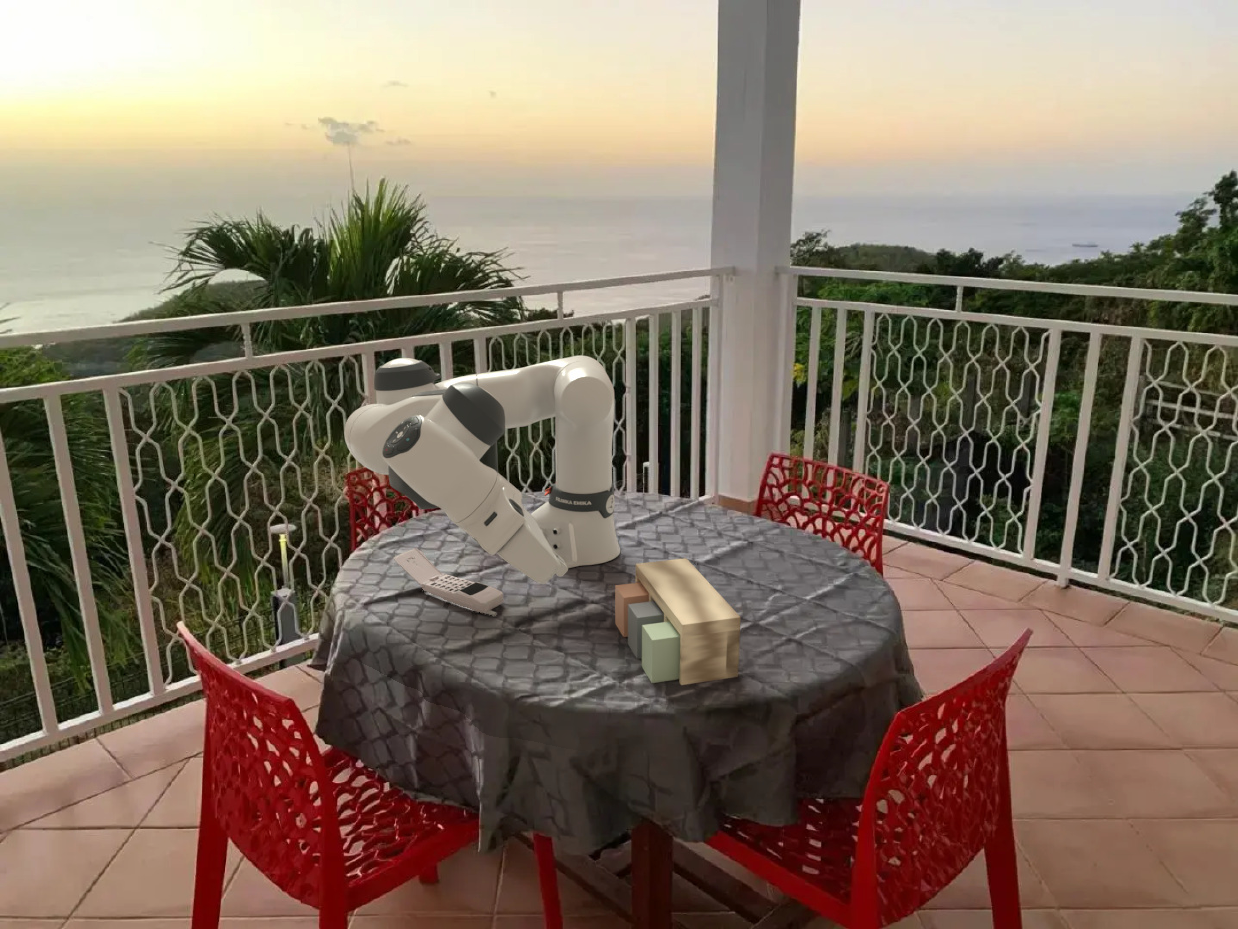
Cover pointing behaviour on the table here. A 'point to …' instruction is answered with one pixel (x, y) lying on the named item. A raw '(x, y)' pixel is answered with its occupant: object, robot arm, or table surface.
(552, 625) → the table surface
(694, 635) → the key console
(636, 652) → the slate key
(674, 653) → the sage key
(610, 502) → the robot arm
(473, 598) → the mobile phone
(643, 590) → the terracotta key
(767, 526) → the table surface
